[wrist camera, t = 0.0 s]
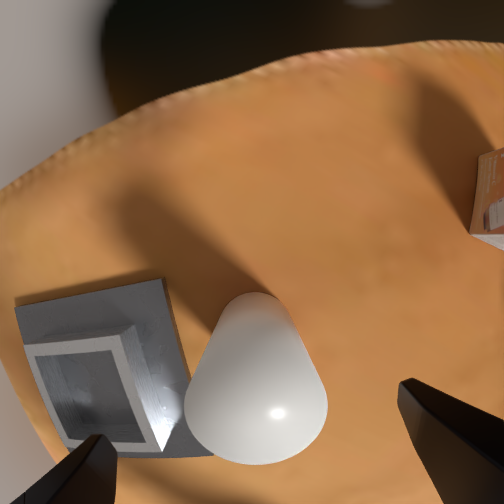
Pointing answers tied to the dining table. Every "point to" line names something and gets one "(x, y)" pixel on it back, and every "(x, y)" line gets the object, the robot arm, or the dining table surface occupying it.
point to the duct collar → (112, 369)
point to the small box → (489, 200)
